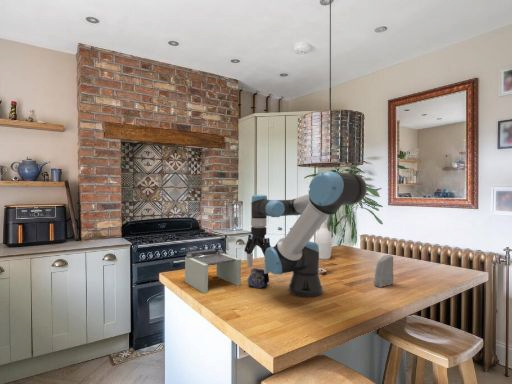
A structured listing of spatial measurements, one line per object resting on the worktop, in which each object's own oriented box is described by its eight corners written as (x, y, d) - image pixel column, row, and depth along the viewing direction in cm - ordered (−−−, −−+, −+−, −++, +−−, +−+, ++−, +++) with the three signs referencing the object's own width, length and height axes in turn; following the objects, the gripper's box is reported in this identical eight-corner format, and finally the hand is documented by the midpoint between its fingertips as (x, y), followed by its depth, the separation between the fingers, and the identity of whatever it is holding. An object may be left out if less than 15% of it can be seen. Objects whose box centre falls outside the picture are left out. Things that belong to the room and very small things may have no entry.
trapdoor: (234, 270, 152) (234, 256, 152) (206, 275, 143) (206, 260, 143) (213, 261, 169) (213, 249, 169) (186, 266, 160) (186, 252, 160)
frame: (240, 284, 152) (240, 256, 152) (203, 293, 140) (204, 262, 140) (219, 275, 168) (219, 249, 168) (185, 282, 156) (185, 254, 156)
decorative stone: (381, 288, 148) (382, 257, 148) (371, 285, 153) (371, 255, 153) (395, 285, 154) (395, 254, 154) (384, 281, 159) (384, 252, 159)
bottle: (333, 257, 214) (334, 220, 214) (328, 260, 205) (328, 221, 204) (318, 255, 220) (318, 219, 220) (312, 258, 211) (312, 220, 210)
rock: (269, 284, 145) (260, 264, 148) (250, 293, 147) (242, 273, 150) (275, 282, 155) (266, 263, 158) (256, 290, 157) (249, 272, 160)
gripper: (281, 229, 144) (280, 274, 145) (249, 223, 164) (249, 263, 165) (269, 230, 140) (268, 277, 140) (238, 224, 160) (237, 265, 160)
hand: (258, 269), depth 153 cm, fingers open, 13 cm apart
